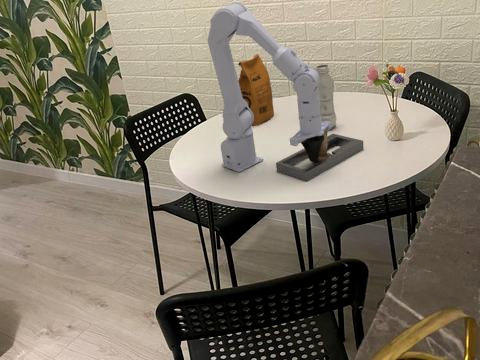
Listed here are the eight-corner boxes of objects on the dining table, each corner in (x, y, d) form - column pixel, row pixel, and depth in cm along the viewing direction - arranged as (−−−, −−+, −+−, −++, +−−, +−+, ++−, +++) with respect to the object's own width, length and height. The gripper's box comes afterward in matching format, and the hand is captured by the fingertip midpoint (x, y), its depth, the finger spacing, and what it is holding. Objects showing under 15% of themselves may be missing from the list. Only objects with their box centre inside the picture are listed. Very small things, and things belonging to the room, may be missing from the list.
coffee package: (235, 124, 180) (225, 62, 170) (256, 112, 188) (248, 53, 178) (257, 127, 173) (248, 63, 164) (278, 115, 182) (271, 53, 172)
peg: (321, 163, 139) (321, 132, 136) (307, 158, 144) (307, 128, 140) (335, 158, 142) (336, 128, 139) (321, 153, 146) (322, 124, 143)
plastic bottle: (321, 132, 161) (317, 70, 152) (313, 126, 167) (308, 66, 158) (340, 128, 162) (336, 66, 153) (331, 122, 168) (327, 62, 159)
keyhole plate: (306, 181, 132) (305, 172, 131) (276, 171, 140) (275, 162, 139) (363, 149, 145) (363, 140, 144) (333, 141, 153) (333, 133, 152)
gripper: (301, 126, 128) (306, 174, 134) (339, 108, 136) (341, 154, 142) (282, 121, 133) (287, 168, 139) (319, 104, 141) (322, 149, 147)
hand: (313, 161), depth 141 cm, fingers closed
